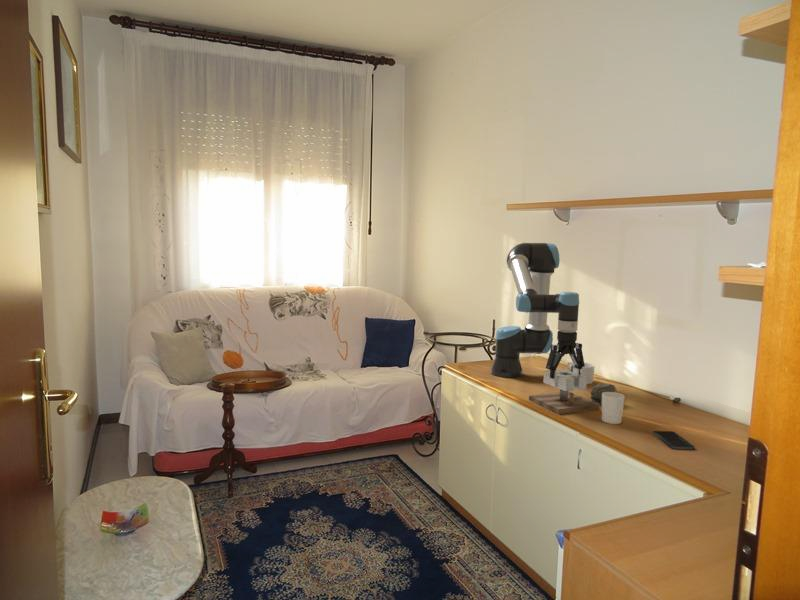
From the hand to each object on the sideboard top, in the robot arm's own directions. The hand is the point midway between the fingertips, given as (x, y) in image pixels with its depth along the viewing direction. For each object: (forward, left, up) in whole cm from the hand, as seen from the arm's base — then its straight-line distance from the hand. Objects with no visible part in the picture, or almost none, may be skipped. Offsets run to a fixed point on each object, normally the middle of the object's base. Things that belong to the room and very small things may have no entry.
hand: (564, 385), depth 224 cm
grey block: (0, 0, 0) cm, 0 cm away
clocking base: (0, 0, -8) cm, 8 cm away
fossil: (+3, +18, -8) cm, 20 cm away
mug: (-29, +32, -8) cm, 44 cm away
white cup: (+22, +4, -8) cm, 24 cm away
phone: (+45, +9, -9) cm, 47 cm away
